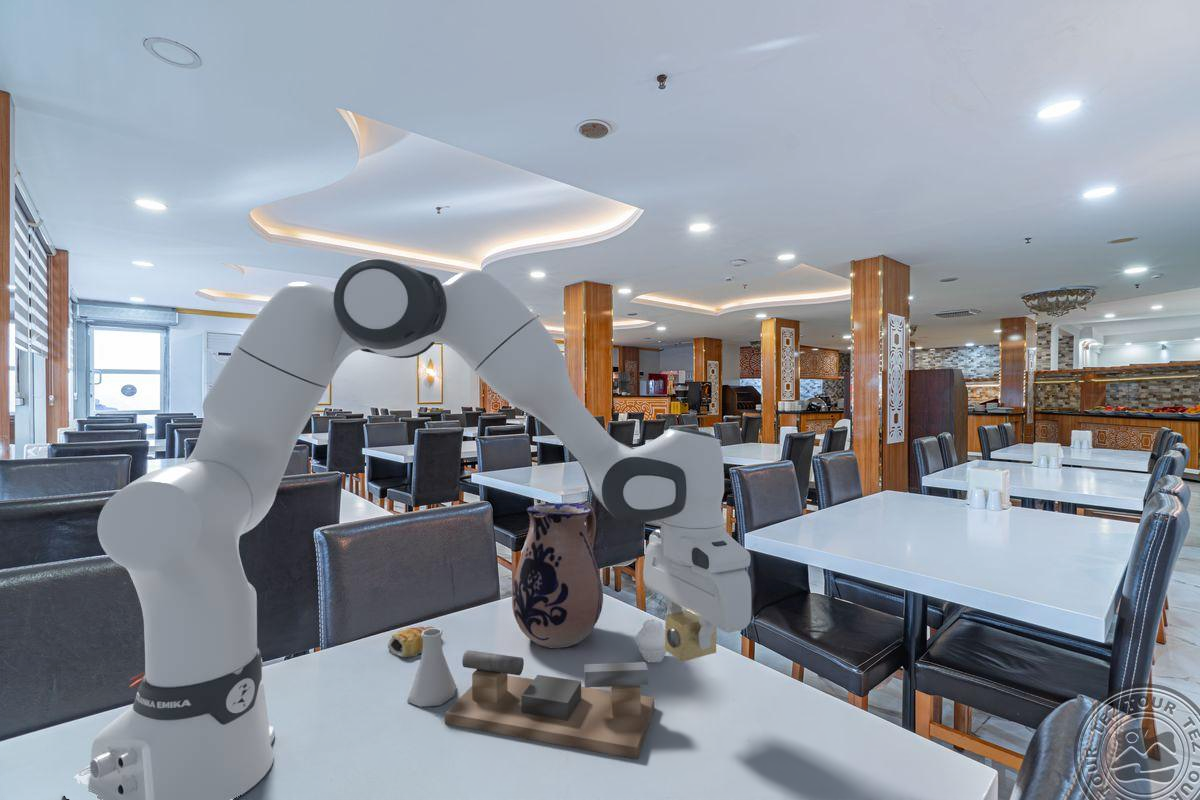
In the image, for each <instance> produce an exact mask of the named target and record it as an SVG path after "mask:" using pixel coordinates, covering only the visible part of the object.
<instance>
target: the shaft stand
mask: <svg viewBox="0 0 1200 800" xmlns="http://www.w3.org/2000/svg"><path fill="white" fill-rule="evenodd" d="M646 662H647V661H640V662H637V661H636V662H617V663H615V662H613V663H588V664H586V663H585V664H584V665H583V669H584V671H583V679H584V680H583V681H584V682H583V683H584V686H582V681H581V680H575V679H571V678H570V679H569V678H562V677H555V676H549V675H542V674H537V675H536V676H535V677H534V678H529V677H522V676H521V675H522V673H523V670H524V664H525V661H524V658H523V657H519V656H513V655H505V654H499V653H490V652H483V651H477V650H472V649H471V650H470V649H468V650H465V652H464V654H463V656H462V662H461V663H462V667H463V668H467V669H474V671H473V673H472V675H471V679H472V680H471V681H472V682H471V683H472V684H471V686H470V687H469V688H468V689H467V690H466V691H465V692H464V693H463V695H461V696H460V697H459V698H458V699H457V700H456V702H454V703H453V704H452V705H451V706H450V708H448V709H447V710H446V711H445V712H444V724H445V725H451V726H455V727H462V728H467V729H472V730H478V731H483V732H489V733H493V734H500V735H505V736H510V737H511V736H512V737H517V738H522V739H526V740H531V741H536V742H537V741H538V742H542V743H548V744H553V745H559V746H565V747H569V748H575V749H580V750H586V751H592V752H597V753H602V754H607V755H612V756H618V757H625V758H629V759H635V760H637V759H638V758H639V754H640V751H641V749H642V746H643V743H644V741H645V737H646V734H647V731H648V729H649V725H650V722H651V719H652V716H653V713H654V710H655V697H651V696H647V695H646V696H645V695H642V692H641V689H642V688H641V686H648V685H649V669H648V665H647V663H646ZM513 675H514V676H513ZM604 687H606V688H607V687H608V688H610V689H609V690H607V689H598V688H604Z"/></svg>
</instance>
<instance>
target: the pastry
mask: <svg viewBox="0 0 1200 800" xmlns="http://www.w3.org/2000/svg"><path fill="white" fill-rule="evenodd" d="M428 628H435V627H434V626H426V627H425V626H417V627H408V628H407V627H406V629H404V630H398V631H397V633H395V634H392V635H391V638H390V639H389V640H388V641H389V642H388V643H387V649H388V650H389V652H390V653H391V654H392V655H394V656H395V655H396V656H399V657H401V658H411V657H415V656H417V655H418V654H422V651H423V638H421V634H422V632H423V631H424V630H426V629H428Z"/></svg>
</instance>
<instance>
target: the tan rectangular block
mask: <svg viewBox="0 0 1200 800" xmlns="http://www.w3.org/2000/svg"><path fill="white" fill-rule="evenodd" d="M664 619H665V620H664V621H665V622H664V623H665V627H664V629H665V650H666V651H667V652H666V653H669V654H670V655H671V656H673V657H674V658H676V659H677V660H678V661H680V662H681V663H683V662H687V661H690V660H694V659H698V658H701V657H704V656H708V655H712V654H717V629H718V627H716V629H715V630H714V632H713V634H712V635H711V646H710V647H709V648H706V649H702V648H700V647H699V646H697V645H696V644H695V633H697V632H700V630H701V627H702V625H701V624H700V623H699V617H698V616H696V615H694V614H693V613H691V612H689V611H687V610H686V609H685V610H682V612H677V613H672V614H669V613H667V614H665V618H664Z"/></svg>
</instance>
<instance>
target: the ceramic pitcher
mask: <svg viewBox="0 0 1200 800" xmlns="http://www.w3.org/2000/svg"><path fill="white" fill-rule="evenodd" d="M526 512H527V514H528V516H529V528H528V532H527V535H526V538H525V541H524V544H523V547H522V551H521V553H520V557H519V560H518V563H517V567H516V572H515V576H514V579H513V586H512V592H511V593H512V594H511V604H512V605H511V607H512V612H513V616H514V619H515V621H516V623H517V625H518V627H519V629H520V630H521V632H522V633H523V634H524V635H525V636H526V638H528V639H530V640H531V641H532V642H533V643H535V644H537V645H539V646H543V647H546V648H550V649H553V648H554V649H556V648H557V649H561V648H567V647H571V646H574V645H578V644H579V643H580V642H582V641H583V640H584V639H585V638H586V637H588V636H589V634H591V632H592V631H593V630H594V628H595V626H596V624H597V622H598V620H599V619H600V616H601V614H602V610H603V603H604V589H603V585H602V579H601V577H600V572H599V569H598V565H597V562H596V559H595V556H594V553H593V550H594V545H595V539H596V531H597V517H596V513H595V510H594V508H593V506H592V504H590V503H589V502H588V501H580V502H550V503H542V504H537V505H532V506H529V507H527V508H526Z"/></svg>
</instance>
